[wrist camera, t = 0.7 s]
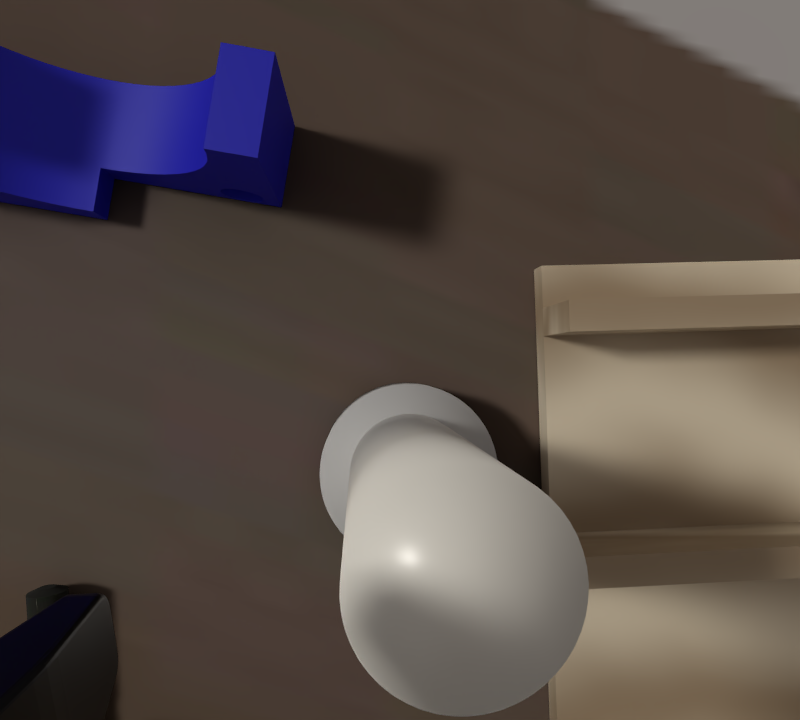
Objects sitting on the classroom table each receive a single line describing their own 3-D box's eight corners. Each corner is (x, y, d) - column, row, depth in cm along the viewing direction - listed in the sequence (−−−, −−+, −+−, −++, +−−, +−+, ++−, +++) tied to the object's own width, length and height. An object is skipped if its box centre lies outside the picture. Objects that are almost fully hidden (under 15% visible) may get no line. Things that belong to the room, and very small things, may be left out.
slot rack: (865, 790, 26) (958, 868, 22) (553, 813, 25) (590, 899, 21) (844, 262, 26) (933, 242, 22) (534, 269, 25) (567, 251, 21)
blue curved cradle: (-61, 192, 24) (-201, 134, 18) (-40, 68, 24) (-171, -30, 18) (275, 248, 25) (248, 211, 19) (295, 128, 25) (274, 52, 19)
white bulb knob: (489, 543, 25) (656, 766, 11) (325, 551, 25) (281, 793, 11) (483, 379, 25) (642, 395, 11) (320, 385, 25) (269, 408, 11)
